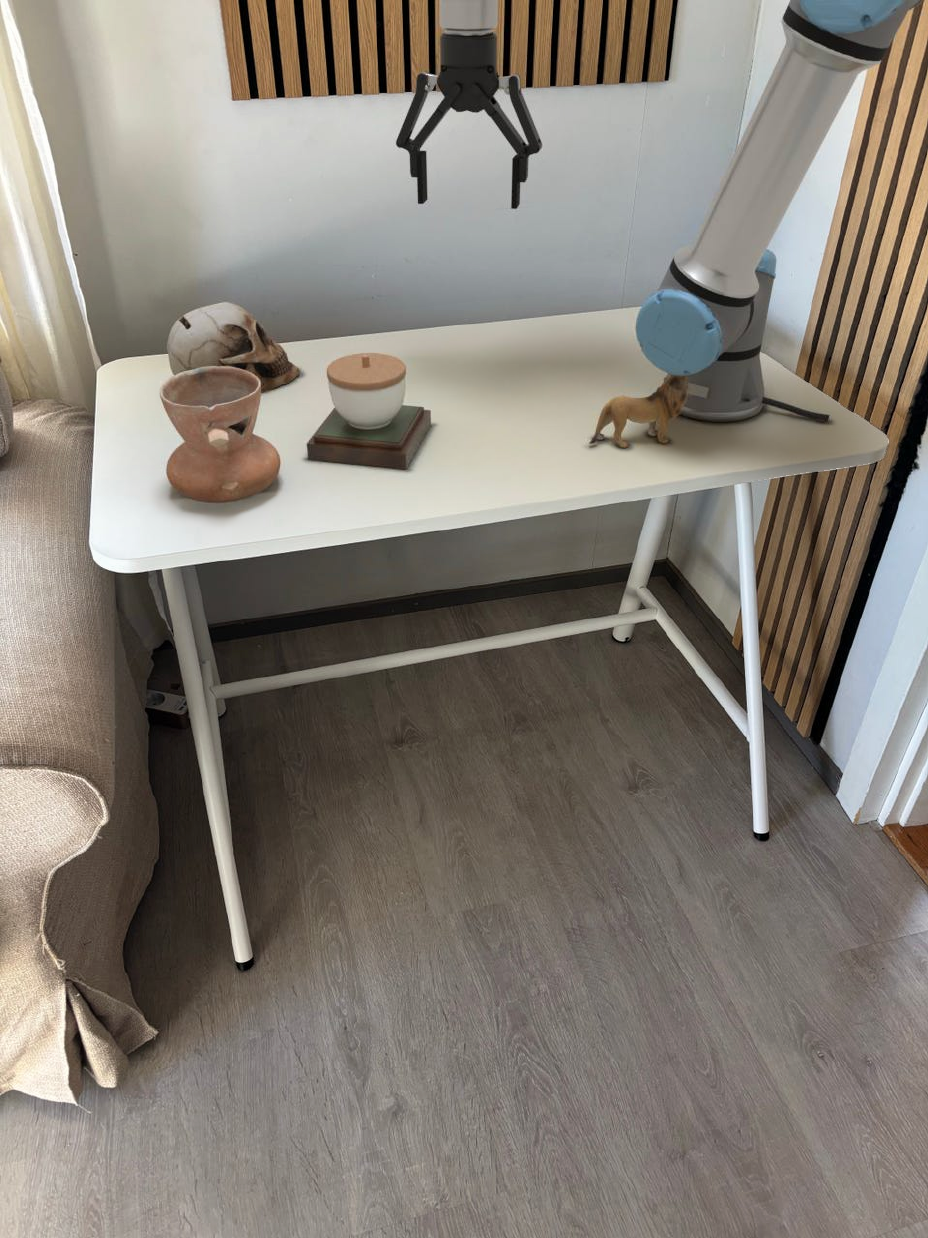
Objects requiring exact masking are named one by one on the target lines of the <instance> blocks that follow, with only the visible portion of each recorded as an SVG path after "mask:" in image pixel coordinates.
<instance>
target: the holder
mask: <svg viewBox="0 0 928 1238" xmlns="http://www.w3.org/2000/svg"><path fill="white" fill-rule="evenodd" d="M424 407H425V406H416V405H405V404H402V406H401V409H400V410H399V412H398V413H397V414H396V416H395V417H394V418H393V419H392V420H391V422H390V423H389V424H388V425H387V426H385V427H382V428H378V429H371V430H364V429H358V428H355V427H352V426H351V425H350V424H349V423H348V421H346V420H345V419H344V418H343V417H342V416H341V415H340V414H339V413H338V412H337V410H336V408H335V407H334V408H333V409H332V410H331V411H330V413H329V414H328V415H327V417H326V418H325V419H324V420H323V422H322V423H321V424H320V425H319V427H318V428H317V429H316V431H315V432H314V433H313V435H312V436H311V437H310V438H309V440H308V441H307V442H306V453H307V459H308V460H309V461H319V462H327V463H337V464H339V463H340V464H348V465H358V466H368V467H376V468H377V467H378V468H388V469H398V470H407V469H408V467H409V466H410V463H411V462H412V460H413V459H414V457H415V455H416V453H417V451H418V449H419V447H420V446H421V444H422V442H423V440H424V439H425V437H426V435H427V433H428V431H429V430H430V428H431V426H432V410H431V409H425V408H424Z"/></svg>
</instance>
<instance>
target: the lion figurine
mask: <svg viewBox="0 0 928 1238" xmlns="http://www.w3.org/2000/svg"><path fill="white" fill-rule="evenodd" d="M666 376H667V375H666ZM666 376H665V377H663V382H662V384H661V385H660V386H658V387H657V388H656V391H654V392H653V393H652V394H650V395H648V396H644V397H630V396H625V395H617V396H614V397H612V398H611V399H609V401H607V402H606V403H605V405H604V406H603V408H602V410H601V412H600V413H599V417H598V421H597V424H596V427H595V432H594V436H593V437H592V438H591V440H590V441H589V442H588V444H589V445H593V444H595V443H596V441H597V440H599V441H600V440H603V439H604V438H605V434H604V433H602V431H603V429H604V428H605V427H606V426H608V425H610V424H611V423H613V427H614V432H613V438H614V440H615V441H616V444H617V445H618V446H619V447H620V448H628V446H629V445H628V442H627V441H625V440H623V438H622V434H623V431H624V429H625V427H626V426H627V423H628V422H627V421H628V420H629V421H630V422H632V423H635V424H648V429H647V434H648V435H649V436H651V437H653V436H657V438H658V442H660V443H662V444H667V443H668V442H669V439H668V438H667V437H665V435H666V433H667V430H668V426H669V421H671V420H673V419H676V418H677V417H678V416H679V415H681V414H680V413H681V411H682V408H683V407H684V404H685V403H686V401H687V397H688V395H689V393H690V387H689V383H688V377H686V376H679V375H673V374H672V375H668V376H667V377H666ZM656 425H658V430H656Z"/></svg>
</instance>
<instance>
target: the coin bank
mask: <svg viewBox="0 0 928 1238" xmlns="http://www.w3.org/2000/svg"><path fill="white" fill-rule="evenodd" d="M166 351H167V355H168V362H169V367H170V370H171V373H172V375H173V376H175V375H177V374H179V373H181V372H184V371H189V370H193V369H197V368H200V367H207V366H217V367H220V366H229V367H235V368H239V369H242V370H246V371H248V372H251V373H252V374H254V375H255V376H257V377H258V378H259V380H260V382H261V392H263V391H269V390H272V389H274V388H278V387H280V386H281V385H288V384H289V383H291V382H292V381H293V380H294V379H295V378H296V377H298V376H300V375H301V371H300V369H299V368H298V366H296V365H295V364H294V363H292V362H291V361H290V360H289V357H288V353H287V352H286V351H285V350H284V347H282V346H281V344H279V343H278V342H276V341H273V340H272V339H270V337H268V335H267V333H266V332H265V330H264V325H262V324H259V322H258V320H257V319H255V317H254V316H253V314H252V313H249V312H248V311H247V310H246V309H245V308H243V307H241V306H240V305H238V304H235V303H233V302H229V301H223V302H219V303H213V304H210V305H206V306H201V307H198V308H196V309H193V310H191V311H189V312H187V313H184V314H183V315H182V316H180V318H178V319H177V320H176V321H175V322H174V324H173V326H172V327H171V329H170V332H169V335H168V338H167V343H166Z"/></svg>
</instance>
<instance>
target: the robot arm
mask: <svg viewBox="0 0 928 1238" xmlns="http://www.w3.org/2000/svg"><path fill="white" fill-rule="evenodd" d="M922 2H924V0H789V2H788V5H787V6H786V9H785V11H784V13H783V15H782V18H781V21H780V22H781V25H782V29H783V33H784V38H785V45H784V46H783V49H782V51H781V53H780V55H779V57H778V59H777V62H776V64H775V66H774V68H773V70H772V72H771V75H770V77H769V79H768V81H767V83H766V85H765V88H764V90H763V92H762V94H761V96H760V99H759V100H758V102H757V104H756V107H755V109H754V111H753V113H752V116H751V118H750V120H749V121H748V124H747V126H746V129H745V131H744V133H743V134H742V137H741V139H740V142H739V143H738V145H737V147H736V150H735V152H734V154H733V156H732V158H731V160H730V163H729V165H728V167H727V169H726V171H725V174H724V176H723V178H722V180H721V182H720V184H719V186H718V189H717V191H716V193H715V195H714V197H713V199H712V201H711V204H710V205H709V208H708V210H707V212H706V214H705V216H704V219H703V220H702V223H701V225H700V227H699V230H698V231H697V233H696V236H695V238H694V240H693V242H692V243H690V244H688V245H685V246H682V247H680V248H678V249H677V250H676V251H675V253H674V256H673V258H672V259H671V262H670V264H669V266H668V268H667V270H666V272H665V275H664V277H663V279H662V281H661V283H660V285H659V287H658V290H657V291H655V292H653V293H652V294H650V295H649V296H648V297H647V298H646V301H644V302H643V304H642V306H641V307H640V308H639V311H638V313H637V317H636V320H635V336H636V339H637V342H638V344H639V346H640V350H641V352H642V354H643V355H644V356H645V358H646V359H647V360H648V361H649V362H650V364H652V365H653V366H654V367H655V368H657V369H658V370H660V371H662V372H664V373H666V376H665V377H667V376H668V375H672V374H673V375H679V376H686V377H688V383H689V387H690V393H689V395H688V397H687V401H686V403H685V404H684V407H683V408H682V411H681V413H680V414H679V415H681V416H684V417H687V418H691V419H693V420H694V419H695V420H700V421H706V422H718V423H719V422H721V423H722V422H725V423H727V422H736V421H742V420H746V419H749V418H752V417H754V416H756V415H758V414H759V413H760V412H761V411H762V409H763V406H764V405H767V406H771V407H774V408H776V409H780V410H783V411H787V412H789V413H793V414H795V415H798V416H801V417H804V418H808V419H812V420H818V421H823V422H829V419H830V414H826V413H819V412H814V411H810V410H808V409H807V410H806V409H803V408H800V407H797V406H795V405H792V404H790V403H786V402H784V401H783V402H782V401H779V400H776V399H773V398H770V397H766V396H765V386H764V385H765V384H764V377H763V371H762V364H761V357H760V356H761V349H762V346H763V345H762V344H763V339H764V334H765V329H766V324H767V318H768V312H769V309H770V302H771V299H772V298H771V297H772V292H773V287H774V280H775V279H776V276H777V274H776V270H777V257H776V254H775V253H774V252H773V251H771V250H770V249H768V247H769V246H770V243H771V241H772V240H773V238H774V235H775V234H776V232H777V230H778V228H779V226H780V224H781V222H782V220H783V219H784V216H785V215H786V213H787V211H788V209H789V207H790V206H791V203H792V201H793V199H794V197H795V196H796V194H797V192H798V191H799V188H800V186H801V184H802V182H803V180H804V179H805V176H806V174H807V173H808V171H809V169H810V168H811V166H812V164H813V162H814V159H815V157H816V156H817V155H818V152H819V150H820V148H821V147H822V144H823V143H824V141H825V138H826V136H827V135H828V133H829V131H830V129H831V127H832V125H833V123H834V121H835V119H836V118H837V116H838V114H839V112H840V110H841V108H842V106H843V104H844V103H845V100H846V99H847V96H848V95H849V93H850V91H851V89H852V88H853V85H854V83H855V82H856V80H857V78H858V75H860V74H861V73H862V72H864V71H866V70H868V69H871V68H873V67H875V66H877V65H879V64H880V63H881V62H882V61H883V58H884V56H885V55H886V53H887V51H888V50H889V48H890V46H891V44H892V42H893V40H894V38H895V36H896V34H897V33H898V31H899V29H900V27H901V26H902V23H903V21H904V20H905V18H906V16H907V15H908V12H909V11H911V10H912V9H914V8H915V7H917V6H918V5H920V4H921V3H922ZM438 5H439V7H438V8H439V9H438V10H439V27H440V29H442V30H444V31H443V33H441V35H440V36H439V60H440V61H439V64H440V65H439V66H440V68H439V70H440V71H439V73H438V74H432V73H430V72H429V71H427V70H424V71H422V72H420V73H419V74H418V75H417V76H416V87H415V93H414V97H413V98H412V100H411V103H410V106H409V108H408V109H407V112H406V114H405V115H406V116H405V118H404V121H403V123H402V126H401V128H400V131H399V133H398V136H397V138H396V140H395V145H396V147H397V148H399V149H402V150H403V149H404V150H405V151H407V152H408V154H409V175H410V177H411V178H416V186H417V190H416V191H417V204H418V205H423V204H425V203H426V202H427V201H428V199H429V198H428V167H427V166H428V165H427V164H428V163H427V161H428V159H427V150H421V149H422V147H423V146H424V145H425V143H426V142H427V140H428V139H429V137H430V136H431V135H432V133H434V131H435V130H436V128H437V127H438V125H439V124H440V123H441V121H442V120H443V118H444V117H445V116H446V115H447V113H448V112H449V111H450V110H451V109H452V110H454V111H455V112H456V113H463V112H466V111H467V112H469V113H475V114H477V113H478V114H479V113H480V112H483V110H484V112H485V113H486V114H487V115H488V117H490V119H491V120H492V121H493V123H494V124H495V126H497V128H498V130H499V132H501V134H502V135H503V137H504V138H505V139H506V141H507V142H508V144H509V145H510V146H511V148H512V149H513V151H514V152H515V153H516V154H515V155H514V156H513V157H512V159H511V160H512V161H511V163H512V164H511V199H510V200H511V204H510V209H511V210H517V209H518V208H519V206H520V204H521V183H526V182H527V180H528V178H529V159H530V158H529V157H530V156H531V155H535V154H538V153H539V152H540V151H541V149H542V148H543V142H542V140H541V137H540V135H539V132H538V129H537V127H536V124H535V122H534V120H533V118H532V115H531V112H530V110H529V107H528V105H527V103H526V100H525V97H524V94H523V93H522V92H523V91H522V80H521V75H520V74H518V73H513V74H512V75H507V76H500V75H499V72H498V36H497V35H496V34H497V33H495V32H494V30H495V29H496V28H497V27H498V22H499V21H498V19H499V17H498V16H499V13H498V12H499V9H498V8H499V0H439V3H438ZM435 86H437V88H438V89H439V91H440V92H441V94H442V95H443V99H442V100H441V101H440V103H439V104H438V105H437V107H436V108H435V110H434V111H433V112H432V114H431V115H430V117H429V118H428V120H427V121H426V122H425V123H424V125H423V126H422V128H421V129H420V130H419V132H418V133H417V135H415V137H414V139H412V138H411V137H412V135H413V132H414V129H415V127H416V124H417V122H418V119H419V117H420V115H421V112H422V110H423V108H424V105H425V103H426V100H427V98H428V95H429V93H431V92H432V91H433V90H434V88H435ZM500 88H502V89H503V91H504V93H505V94H506V95H509V98H510V102H511V104H512V107H513V110H514V112H515V114H516V117H517V119H518V122H519V124H520V127H521V129H522V131H523V133H524V136H525V139H526V141H527V143H526V141H525V140H524V138H523V137H522V135H521V134H520V133H519V132H518V130H517V129H516V127H515V126H514V125H513V122H512V121H511V120H510V118H509V117H508V116H507V114H506V113H505V112H504V110H503V109H502V107H501V105H500V103H499V101H498V100H497V99H496V97H495V94H496V93H497V92H498V90H499V89H500Z"/></svg>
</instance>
